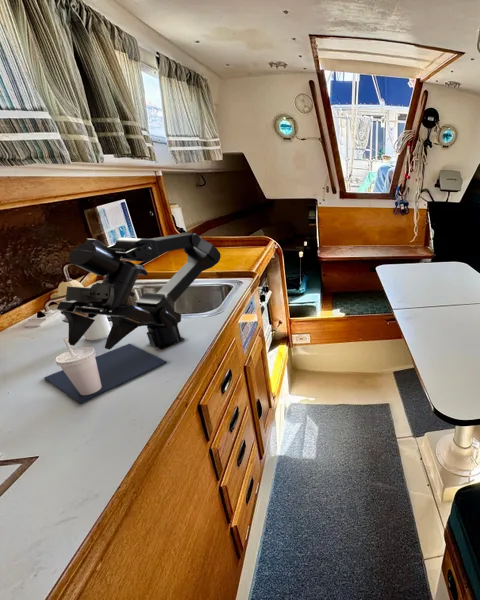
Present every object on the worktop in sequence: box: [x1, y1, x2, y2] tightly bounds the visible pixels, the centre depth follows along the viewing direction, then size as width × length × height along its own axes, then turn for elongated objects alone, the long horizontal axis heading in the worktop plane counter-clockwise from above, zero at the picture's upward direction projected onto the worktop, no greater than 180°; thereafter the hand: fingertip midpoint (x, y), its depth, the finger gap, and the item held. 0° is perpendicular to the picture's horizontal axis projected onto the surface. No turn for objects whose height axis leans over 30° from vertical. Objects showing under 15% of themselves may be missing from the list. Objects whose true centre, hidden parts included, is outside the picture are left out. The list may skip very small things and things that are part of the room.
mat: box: [43, 343, 168, 405], centre depth 81 cm, size 18×18×1 cm
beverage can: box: [83, 304, 112, 341], centre depth 93 cm, size 6×6×12 cm
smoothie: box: [54, 337, 102, 395], centre depth 71 cm, size 6×6×14 cm
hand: (89, 347), depth 73 cm, fingers open, 9 cm apart
